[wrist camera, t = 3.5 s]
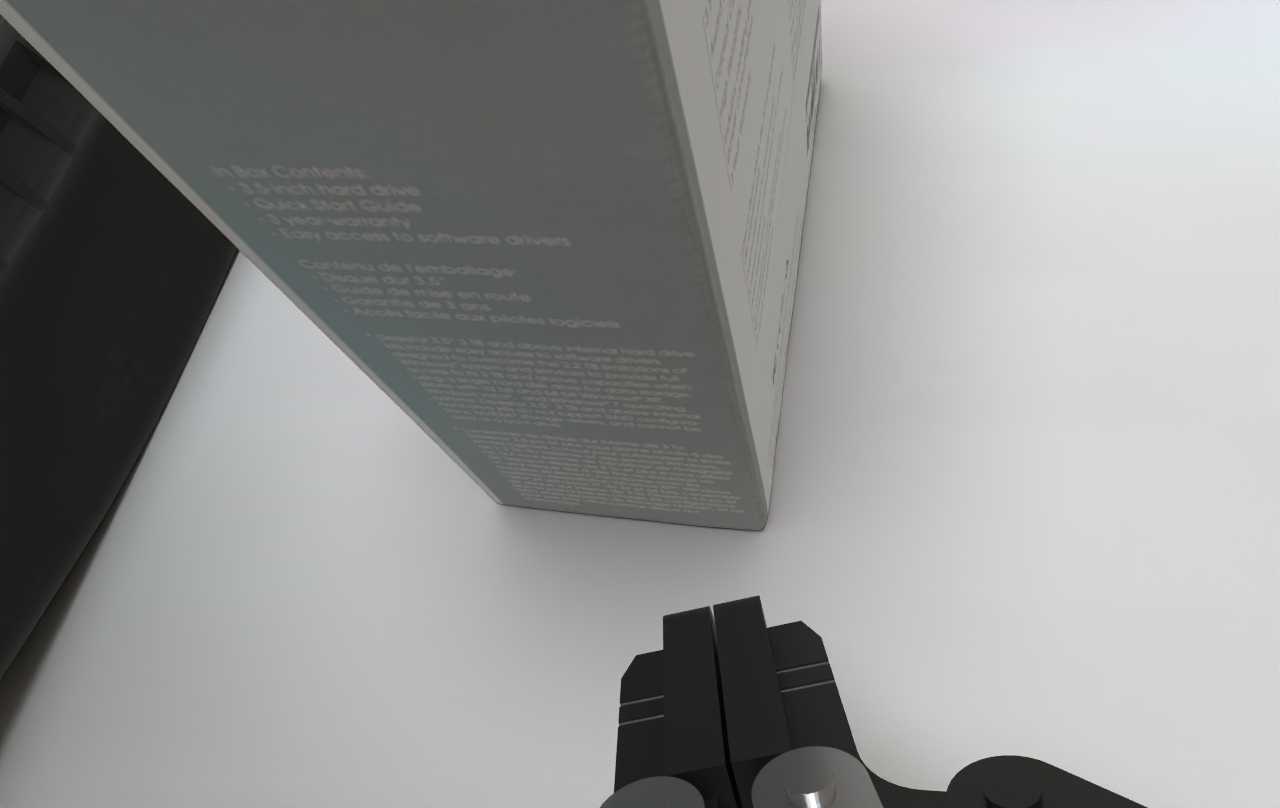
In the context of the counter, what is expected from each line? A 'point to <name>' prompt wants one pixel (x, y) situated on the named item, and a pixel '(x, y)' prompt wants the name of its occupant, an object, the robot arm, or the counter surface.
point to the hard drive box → (503, 213)
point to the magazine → (81, 321)
